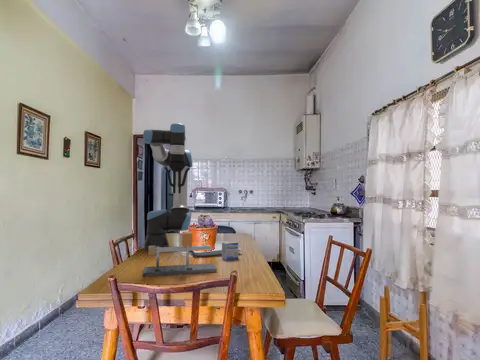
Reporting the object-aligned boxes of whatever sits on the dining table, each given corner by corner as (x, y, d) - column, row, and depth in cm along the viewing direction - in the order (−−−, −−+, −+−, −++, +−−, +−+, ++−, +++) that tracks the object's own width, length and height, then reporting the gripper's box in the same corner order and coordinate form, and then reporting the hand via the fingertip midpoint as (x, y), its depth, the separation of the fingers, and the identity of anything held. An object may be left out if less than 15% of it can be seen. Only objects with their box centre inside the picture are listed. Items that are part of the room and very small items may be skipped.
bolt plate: (143, 270, 145) (143, 266, 145) (212, 266, 154) (212, 262, 154) (143, 276, 136) (143, 272, 136) (216, 272, 144) (216, 268, 144)
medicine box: (225, 260, 166) (226, 243, 166) (221, 258, 170) (221, 242, 170) (238, 258, 171) (238, 242, 171) (234, 256, 174) (234, 241, 174)
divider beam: (148, 266, 143) (148, 245, 143) (209, 263, 150) (210, 242, 150) (148, 269, 137) (148, 247, 138) (211, 266, 145) (212, 245, 145)
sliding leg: (181, 264, 148) (182, 231, 148) (190, 263, 149) (191, 231, 149) (183, 267, 142) (183, 233, 142) (191, 266, 143) (192, 233, 143)
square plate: (185, 248, 196) (185, 242, 196) (227, 246, 206) (227, 240, 206) (194, 258, 170) (194, 251, 171) (242, 255, 180) (242, 248, 180)
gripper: (164, 153, 158) (164, 200, 158) (190, 154, 162) (190, 200, 162) (163, 154, 165) (163, 199, 165) (189, 154, 169) (188, 199, 169)
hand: (176, 199), depth 164 cm, fingers closed
